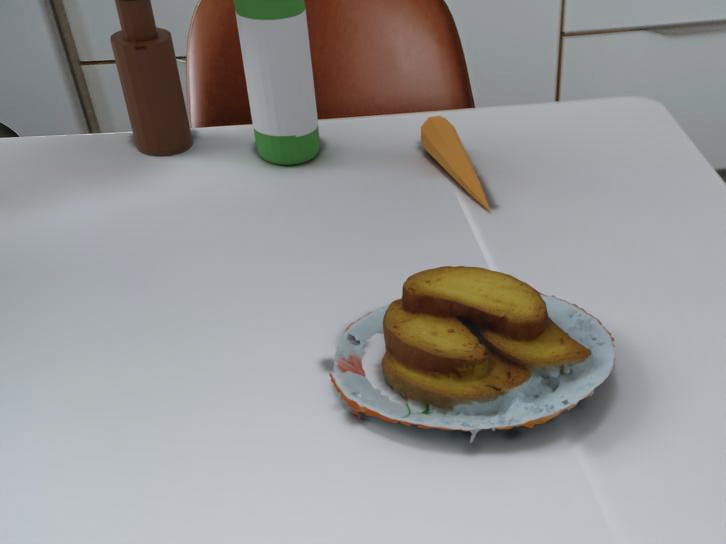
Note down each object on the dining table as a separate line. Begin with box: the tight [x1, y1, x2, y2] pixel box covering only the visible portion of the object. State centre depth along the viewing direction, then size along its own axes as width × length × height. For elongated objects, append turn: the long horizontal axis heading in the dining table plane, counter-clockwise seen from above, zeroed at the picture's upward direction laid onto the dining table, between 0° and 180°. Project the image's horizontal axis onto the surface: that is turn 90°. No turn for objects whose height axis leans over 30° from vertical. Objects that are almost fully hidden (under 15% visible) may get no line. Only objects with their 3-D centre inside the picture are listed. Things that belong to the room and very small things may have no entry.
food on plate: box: [328, 265, 616, 444], centre depth 84 cm, size 25×25×7 cm
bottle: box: [109, 0, 193, 157], centre depth 114 cm, size 7×7×16 cm
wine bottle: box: [233, 0, 321, 166], centre depth 107 cm, size 8×8×30 cm
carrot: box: [420, 115, 492, 213], centre depth 113 cm, size 20×4×4 cm, turn 21°
